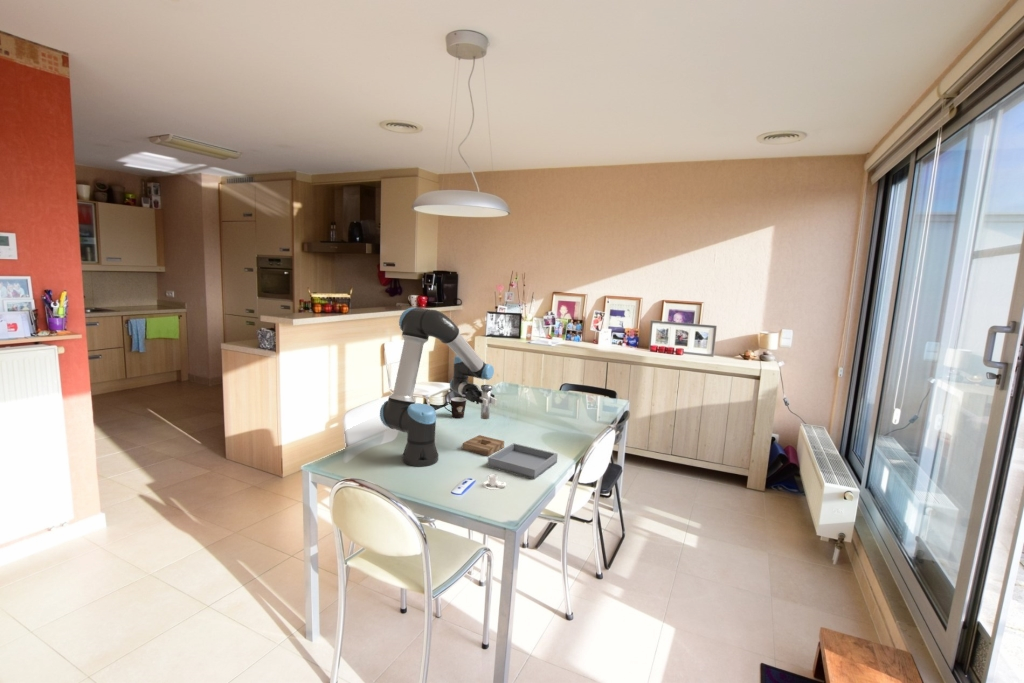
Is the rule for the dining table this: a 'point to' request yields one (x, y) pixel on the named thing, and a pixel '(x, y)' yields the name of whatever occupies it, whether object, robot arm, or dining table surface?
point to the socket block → (483, 445)
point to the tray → (522, 460)
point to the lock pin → (486, 395)
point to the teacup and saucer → (494, 482)
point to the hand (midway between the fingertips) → (491, 402)
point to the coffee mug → (457, 407)
